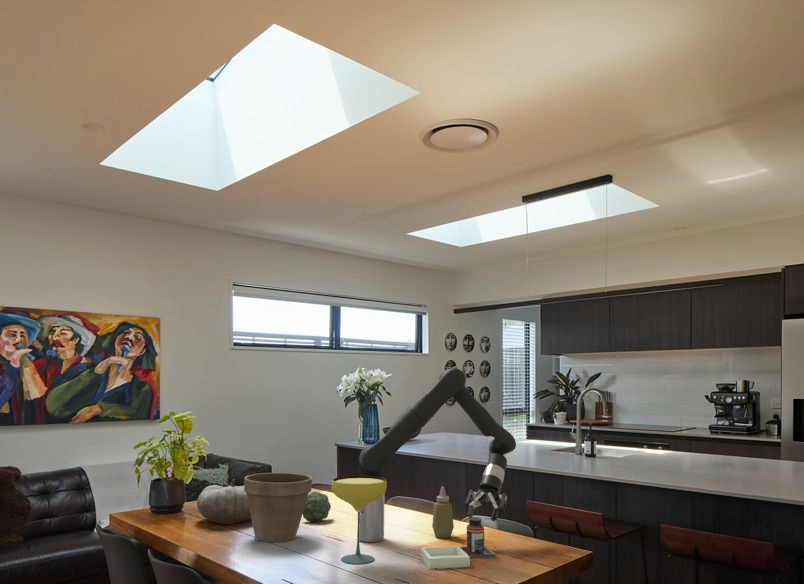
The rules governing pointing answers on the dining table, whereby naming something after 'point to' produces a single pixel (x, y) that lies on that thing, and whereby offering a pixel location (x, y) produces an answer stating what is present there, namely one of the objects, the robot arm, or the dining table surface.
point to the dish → (444, 557)
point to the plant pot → (276, 504)
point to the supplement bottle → (475, 536)
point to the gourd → (224, 504)
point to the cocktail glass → (358, 503)
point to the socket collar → (488, 554)
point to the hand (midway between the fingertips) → (481, 518)
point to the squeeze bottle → (442, 516)
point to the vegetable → (316, 507)
